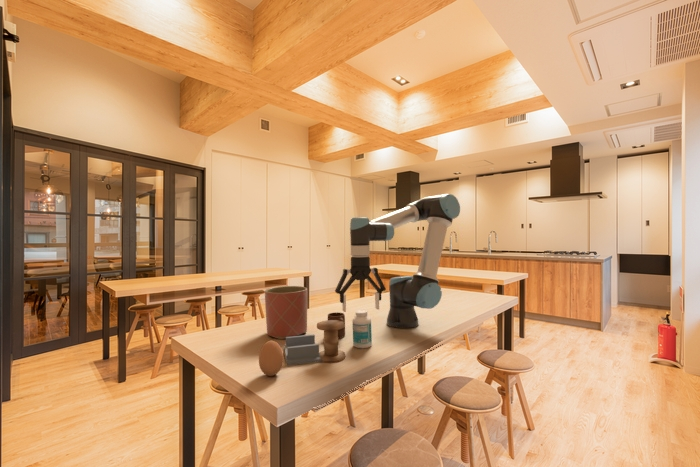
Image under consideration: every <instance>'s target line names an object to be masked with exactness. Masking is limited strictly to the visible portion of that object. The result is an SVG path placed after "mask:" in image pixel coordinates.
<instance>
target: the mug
mask: <svg viewBox="0 0 700 467" xmlns="http://www.w3.org/2000/svg"><path fill="white" fill-rule="evenodd" d="M327 320H338V321H342V322H344V324H345V326H344V328H342V329H339V330H338V339H341V338H344V337H346V317H345V313H344V312H331V313H328V314H327Z"/></svg>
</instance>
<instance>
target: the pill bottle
mask: <svg viewBox="0 0 700 467" xmlns="http://www.w3.org/2000/svg"><path fill="white" fill-rule="evenodd" d="M351 321H352V341H353V342H352V343H353V344H352V345H353V346H354V347H355V348H357V349H367V348H370V347H371V346H373V341H372V340H373V339H372V338H373V336H372V335H373V334H372V318H370V316H368V311H367V310H364V309H361V310H360V309H359V310H355V316H354V317H353V318H352V320H351Z"/></svg>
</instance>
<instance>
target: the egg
mask: <svg viewBox="0 0 700 467" xmlns="http://www.w3.org/2000/svg"><path fill="white" fill-rule="evenodd" d="M258 365H259V369H260V370H261V372H262V373H263V375H265V376H267V377H268V376H269V377H274V376H276V375H277V374H278V373H280V370H282V367H283V365H284V353H283V349H282V347H281V346H280V344H279V343H278V342H277V341H275V340H268V341H267V342H265V343H264V344H263V345H262V347H261V349H260V352H259V354H258Z"/></svg>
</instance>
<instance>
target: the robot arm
mask: <svg viewBox="0 0 700 467" xmlns="http://www.w3.org/2000/svg"><path fill="white" fill-rule="evenodd" d="M460 213H461V205H460V202H459V199H458V198H457V197H456V196H455V195H454V194H451V193H442V194H437V195H432V196H425V197H423V198H419V199H418V200H415V201H412V202H410V203H408V204H406V206H405V207H403V208H399V209H398V210H394V211H393V212H389V213H388V214H385V215H382V216H379V217H376V218H374V219H371V220H370V218H369V217H366V216H363V217H362V216H361V217H359V216H357V217H356V216H355V217H352V218H351V219H350V225H349V230H350V232H349V233H350V234H349V235H350V256H351V257H350V269H348V268H347V269H346V268H343V269H342V275H341V277H340V279H339V281H338V284H337V285H336V288H335V290H334V292H335V293H336V294H338V295H339V303H341V305H342V311H343V313H344V312H345V313H346V312H347V297H346V296H347V295H346V294H345V293H346V292H347V290H348V289H349V288H350V287H351V285H352V284H353V283H354V282H355V281H360V280H362V281H365V280H367V282H368V283H370V284H371V286H372V287H373V288H374V289H375V290H376V291H375V292H374V295H375V296H374V300H375V301H374V303H375V304H374V307H375V309H376V310H380V302H381V301H382V293H383V292H385V291H386V287H385V286H386V285H385V284H384V283H383V280H382V278H381V276H380V274H379V269H378V268H377V267H373V268H371V265H370V264H371V258H370V255H371V253H370V252H371V250H370V242H386V241H387V242H388V241H391V240H392V239H393V238H394V237H395V229H396V228H399V227H402V226H403V225H407V224H409V223H417V222H420V221H427V222H428V226H427V231H426V235H425V238H424V242H423V247H422V250H421V252H422V253H421V255H420V260H419V265H418V268H417V272H415V273H413V275H405V276H395V277H391V278H390V279H389V285H388V288H389V289H388V290H389V310H388V314H387V317H386V325H387V326H389V327H391V328H396V329H410V328H411V329H412V328H414V327H415V328H416V327H418V325H419V318H418V316H417V311H416V309H415V307H418V308H421V309H428V310H429V309H433V308H435V307H436V306H438V304H439V303H440V301H441V299H442V296H443V293H442V292H443V291H442V288H441V286H440V285H439V283H440V281H439V279H438V277H437V275H438V271H439V265H440V261H441V256H442V253H443V248H444V244H445V239H446V235H447V230H448V227H450V226H452V224H453V220H454V219H456V218H458V217H459V216H460ZM371 273H372V274H373V276H374V278H375V280H376V282H377V283H378V284H377V283H376V282H375V280H373V278H372V277H371V275H370V274H371ZM349 274H351V276H350V277H349V279H348V281H346V279H347V276H348V275H349ZM345 281H346V283H345Z"/></svg>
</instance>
